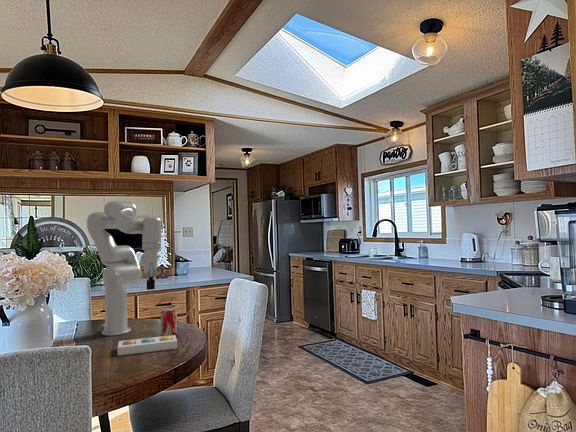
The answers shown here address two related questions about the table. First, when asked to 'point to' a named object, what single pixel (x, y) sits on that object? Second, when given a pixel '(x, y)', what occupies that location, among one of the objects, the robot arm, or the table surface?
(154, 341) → the button box
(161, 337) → the amber button
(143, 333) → the table surface
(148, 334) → the table surface
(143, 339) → the teal button
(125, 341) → the terracotta button
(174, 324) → the soda can
